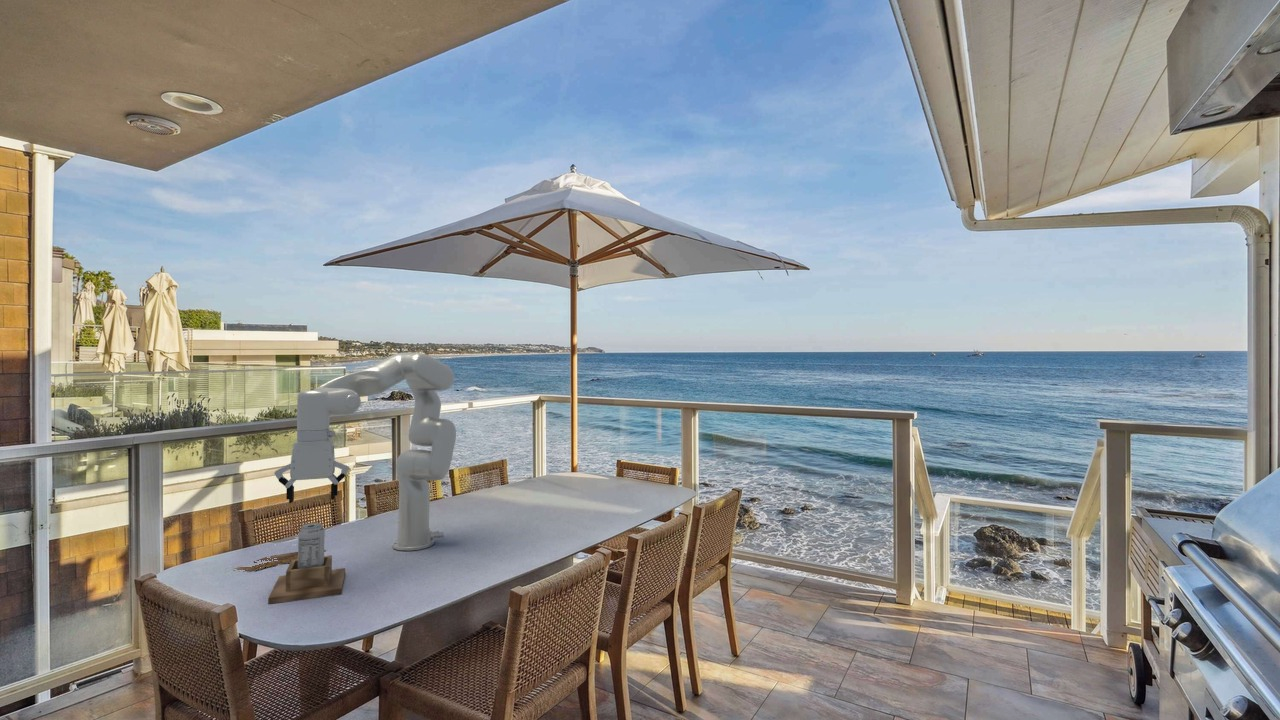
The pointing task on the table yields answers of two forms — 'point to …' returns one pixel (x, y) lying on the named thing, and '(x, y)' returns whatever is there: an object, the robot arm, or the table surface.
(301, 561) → the energy drink can
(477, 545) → the table surface
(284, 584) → the slotted stand
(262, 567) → the wooden fragment
